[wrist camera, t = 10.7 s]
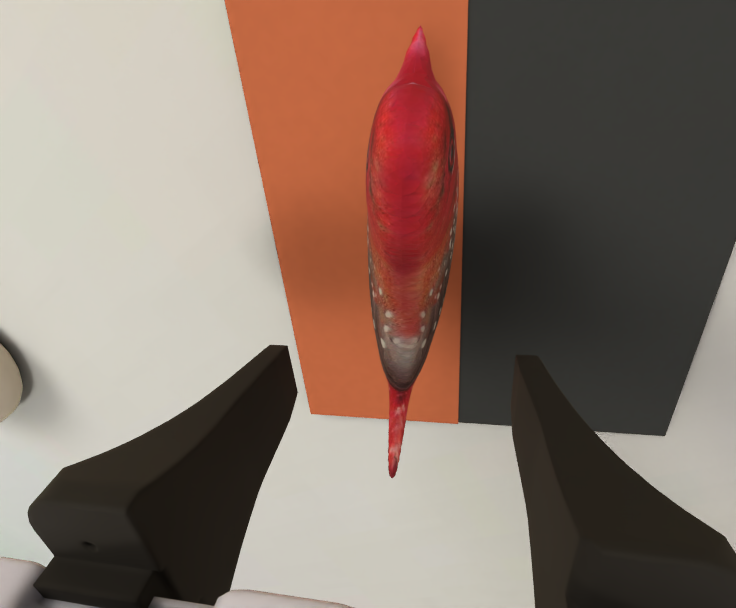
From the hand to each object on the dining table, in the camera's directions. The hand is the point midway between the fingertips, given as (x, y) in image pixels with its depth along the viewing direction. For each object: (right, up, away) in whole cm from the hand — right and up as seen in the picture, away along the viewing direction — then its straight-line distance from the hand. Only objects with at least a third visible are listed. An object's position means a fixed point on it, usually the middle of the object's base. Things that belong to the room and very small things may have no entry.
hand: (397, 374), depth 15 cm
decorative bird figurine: (+1, +5, +7) cm, 9 cm away
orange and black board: (+4, +5, +7) cm, 9 cm away
